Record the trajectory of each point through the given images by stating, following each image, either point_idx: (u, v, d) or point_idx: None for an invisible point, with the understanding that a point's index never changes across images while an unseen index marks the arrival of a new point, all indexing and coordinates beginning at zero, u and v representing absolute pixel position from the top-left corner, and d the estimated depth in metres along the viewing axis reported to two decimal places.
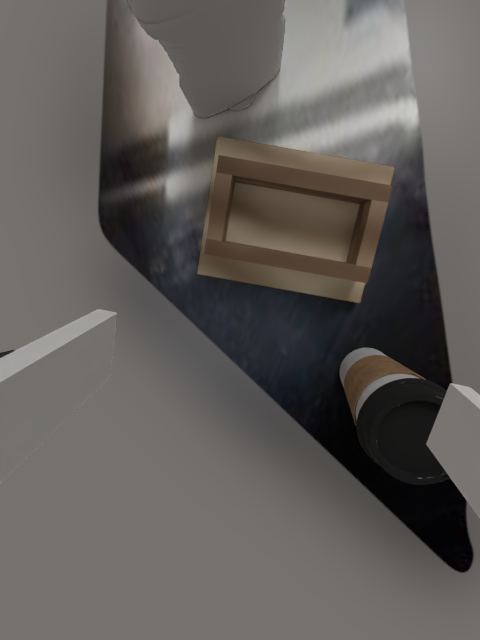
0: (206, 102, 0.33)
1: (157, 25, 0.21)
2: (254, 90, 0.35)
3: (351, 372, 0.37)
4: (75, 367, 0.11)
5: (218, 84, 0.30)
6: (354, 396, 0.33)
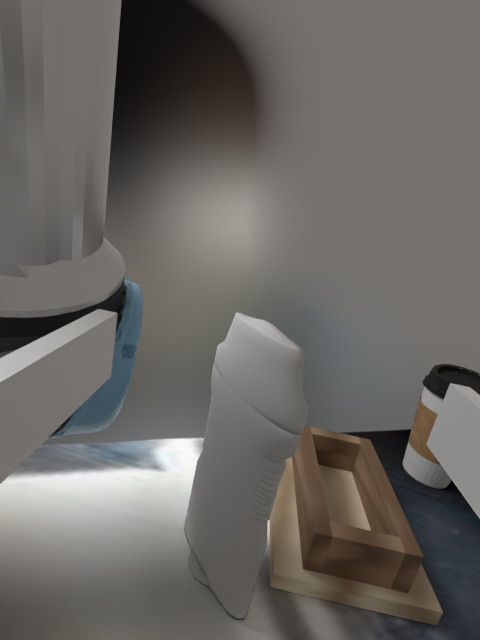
0: None
1: None
2: None
3: None
4: (75, 367, 0.11)
5: None
6: None
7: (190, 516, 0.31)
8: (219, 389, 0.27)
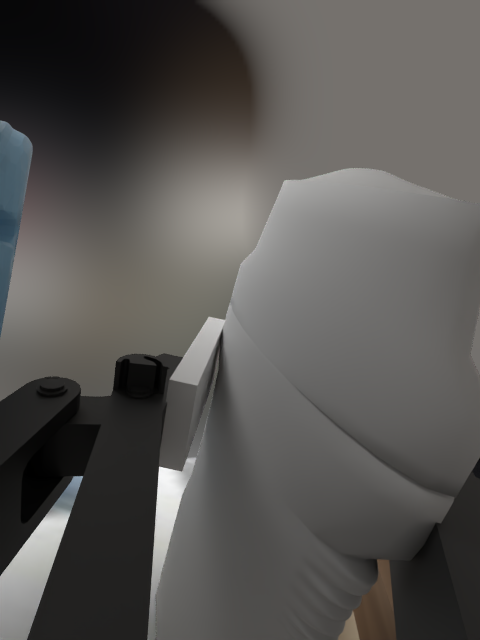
0: None
1: None
2: None
3: None
4: (211, 368, 0.13)
5: None
6: None
7: (162, 582, 0.17)
8: (230, 346, 0.12)
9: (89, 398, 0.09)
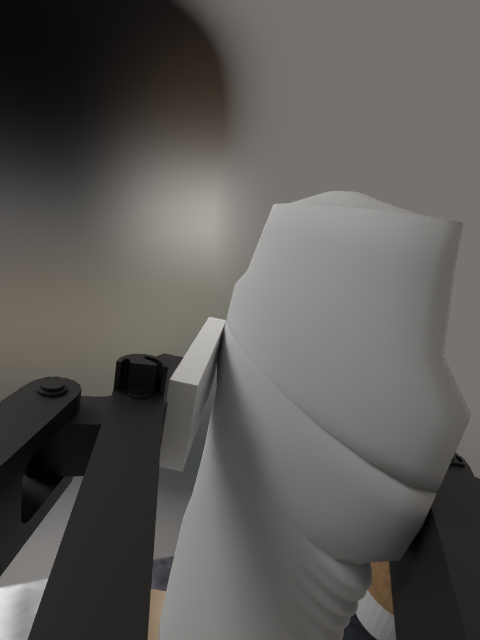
0: None
1: None
2: None
3: None
4: (211, 368, 0.13)
5: None
6: None
7: (164, 608, 0.17)
8: (226, 361, 0.13)
9: (89, 398, 0.09)
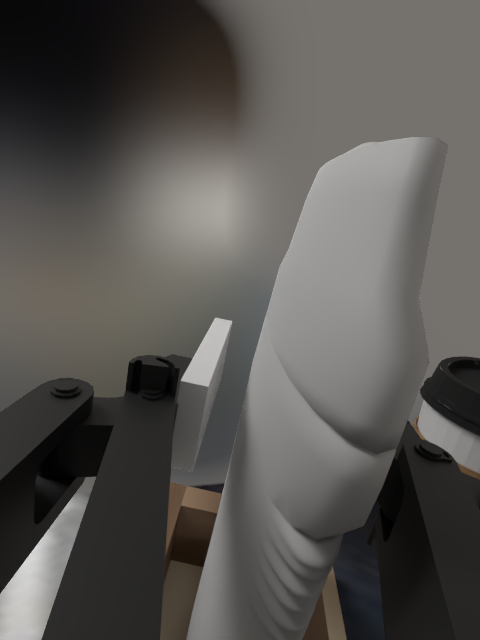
0: None
1: None
2: None
3: None
4: (219, 369, 0.13)
5: None
6: None
7: None
8: None
9: (101, 399, 0.09)
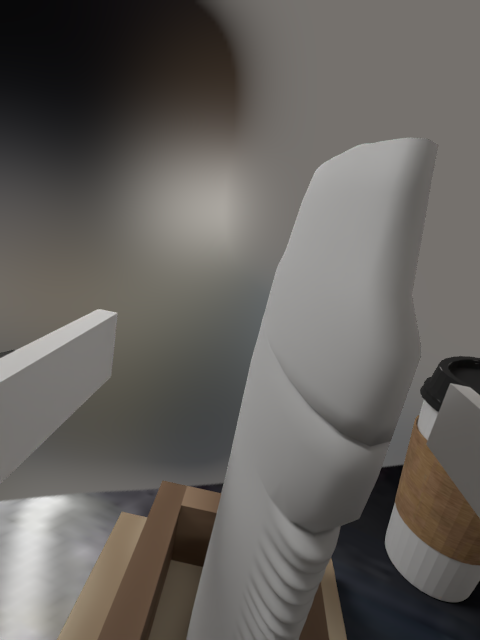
0: None
1: None
2: None
3: (455, 541, 0.22)
4: (75, 367, 0.11)
5: None
6: None
7: None
8: None
9: None
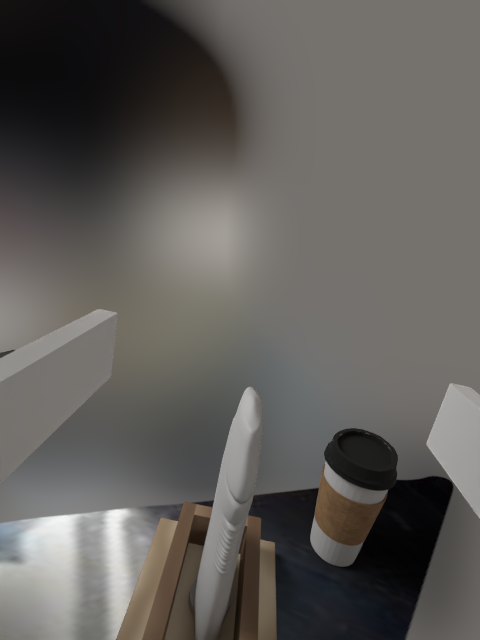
0: (225, 609, 0.30)
1: (250, 498, 0.26)
2: None
3: (338, 533, 0.41)
4: (75, 367, 0.11)
5: None
6: (356, 509, 0.40)
7: None
8: None
9: None
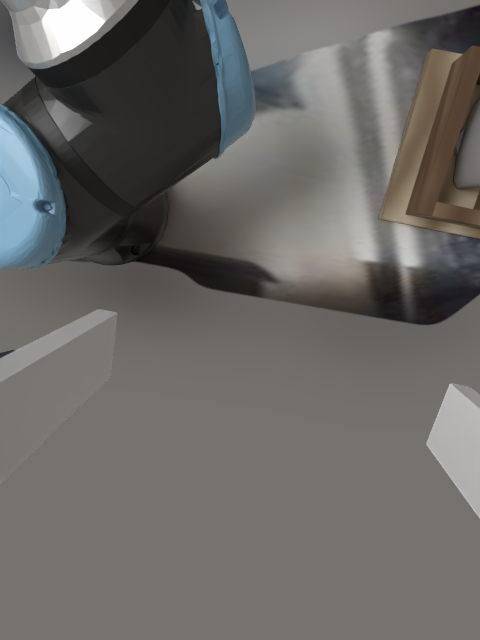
0: None
1: None
2: None
3: None
4: (75, 367, 0.11)
5: None
6: None
7: None
8: None
9: None
